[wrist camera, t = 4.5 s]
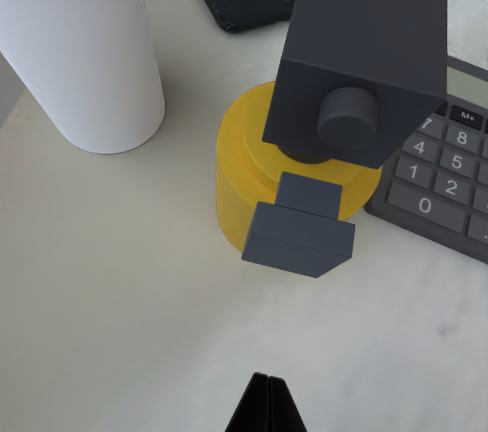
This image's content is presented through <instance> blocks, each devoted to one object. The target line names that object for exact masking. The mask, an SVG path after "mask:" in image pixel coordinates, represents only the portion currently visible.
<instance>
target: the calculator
mask: <svg viewBox="0 0 488 432" xmlns="http://www.w3.org/2000/svg"><path fill="white" fill-rule="evenodd" d="M366 210H367V212H369V213H370V214H372V215H374V216H377V217H379V218H381V219H384V220H386V221H388V222H391V223H393V224H396V225H398V226H400V227H403V228H405V229H407V230H410V231H412V232H414V233H417V234H419V235H421V236H424V237H426V238H428V239H431V240H433V241H435V242H438V243H440V244H442V245H445V246H447V247H449V248H452V249H454V250H457V251H459V252H461V253H464V254H466V255H468V256H471V257H473V258H475V259H478V260H480V261H482V262H485V263H487V264H488V70H485V69H482V68H480V67H477V66H475V65H472V64H469V63H467V62H464V61H462V60H459V59H457V58H454V57H451V56H449V55H447V98H446V100H445V101H444V102H443V103H442V104H441V105H440V106H439V107H438V108H437V109H436V110H435V111H434V112H433V113H432V114H431V115H430V116H429V117H428V118H427V119H426V120H425V122H424V123H423V124H422V125H421V126H420V127H419V128H418V129H417V130H416V131H415V132H414V133H413V134H412V135H411V136H410V137H409V138H408V139H407V140H406V141H405V142H404V143H403V144H402V145H401V146H400V147H399V148H398V149H397V150H396V151H395V152H394V153H393V155H392V156H391V157H390V158H389V159H388V160H387V161H386V162H385V163H384V164H383V165H382V171H381V177H380V180H379V183H378V185H377V187H376V189H375V191H374V193H373V194H372V196H371V197H370V199H369V200H368V201H367V204H366Z"/></svg>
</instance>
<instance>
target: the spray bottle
mask: <svg viewBox="0 0 488 432" xmlns="http://www.w3.org/2000/svg"><path fill="white" fill-rule="evenodd" d="M446 98H447V0H295V4H294V8H293V12H292V16H291V20H290V24H289V28H288V32H287V36H286V40H285V44H284V48H283V52H282V57H281V61H280V65H279V69H278V73H277V77H276V81H272V82H268V83H265V84H262V85H259V86H257V87H255V88H253V89H251V90H249V91H247V92H246V93H244V94H243V95H242V96H240V97H239V98H238V99H237V100H236V101H235V102H234V103H233V104H232V105H231V107H230V108H229V109H228V111H227V112H226V114H225V116H224V117H223V120H222V122H221V125H220V128H219V132H218V140H217V185H216V211H217V217H218V221H219V224H220V227H221V229H222V231H223V233H224V234H225V236H226V237H227V239H228V240H229V241H230V242H231V243H232V244H233V245H234V246H235V247H236V248H237V249H238V250H239V251H241V252H242V253H243V249H244V245H245V241H246V237H247V233H248V230H249V227H250V224H251V220H252V217H253V214H254V211H255V208H256V205H257V202H258V201H262V202H266V203H270V204H274V203H275V199H276V194H277V189H278V184H279V180H280V176H281V174H282V172H283V171H285V172H290V173H294V174H298V175H302V176H306V177H310V178H314V179H318V180H322V181H326V182H330V183H334V184H338V185H342V194H341V201H340V209H339V216H338V220H339V221H343V222H345V221H347V220H348V219H349V218H350V217H351V216H352V215H353V214H354V213H356V212H357V211H358V210H359V209H360V208H361V207H362V206H363V205H364V204H365V203H366V202H367V201H368V200H369V199H370V197H371V196H372V194H373V193H374V191H375V189H376V187H377V185H378V183H379V180H380V177H381V171H382V165H383V164H384V163H385V162H386V161H387V160H388V159H389V158H390V157H391V156H392V155H393V153H394V152H395V151H396V150H397V149H398V148H399V147H400V146H401V145H402V144H403V143H404V142H405V141H406V140H407V139H408V138H409V137H410V136H411V135H412V134H413V133H414V132H415V131H416V130H417V129H418V128H419V127H420V126H421V125H422V124H423V123H424V122H425V120H426V119H427V118H428V117H429V116H430V115H431V114H432V113H433V112H434V111H435V110H436V109H437V108H438V107H439V106H440V105H441V104H442V103H443V102H444V101H445V100H446Z"/></svg>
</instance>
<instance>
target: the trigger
mask: <svg viewBox="0 0 488 432" xmlns="http://www.w3.org/2000/svg"><path fill="white" fill-rule="evenodd" d="M341 194H342V185H338V184H334V183H330V182H326V181H322V180H318V179H314V178H310V177H306V176H302V175H298V174H294V173H290V172H285V171H283V172H282V174H281V176H280V180H279V184H278V189H277V194H276V199H275V203H274V204H270V203H266V202H262V201H258V202H257V205H256V208H255V211H254V214H253V217H252V220H251V224H250V227H249V230H248V233H247V237H246V241H245V245H244V249H243V253H242V258H241V259H242V260H244V261H249V262H253V263H257V264H261V265H265V266H269V267H273V268H277V269H281V270H285V271H289V272H293V273H297V274H301V275H305V276H310V277H314V278H318V277H320V276H321V275H323V274H325V273H326V272H328V271H330V270H332V269H333V268H335V267H337V266H338V265H340V264H342V263H344V262H345V261H347V260H349V259H350V258H351V257H352V250H353V241H354V232H355V225H354V224H351V223H347V222H343V221H339V220H338V216H339V209H340V201H341Z"/></svg>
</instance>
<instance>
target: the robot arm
mask: <svg viewBox="0 0 488 432" xmlns="http://www.w3.org/2000/svg"><path fill="white" fill-rule="evenodd" d="M225 432H307V430H306V428H305V426H304V423H303V421H302V419H301V416H300V414H299V412H298V410H297V407H296V405H295V403H294V401H293V398H292V396H291V394H290V391H289V389H288V387H287V385H286V382H285V381H284V380H283V379H282V378H278V377H274V376H269V377H268V375H266V374H262V373H258V372H255V373H254V374H253V376H252V378H251V380H250V382H249V384H248V386H247V388H246V390H245V392H244V394H243V396H242V398H241V400H240V402H239V404H238V406H237V408H236V410H235V412H234V414H233V416H232V418H231V420H230V422H229V424H228V426H227V428H226V430H225Z"/></svg>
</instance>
